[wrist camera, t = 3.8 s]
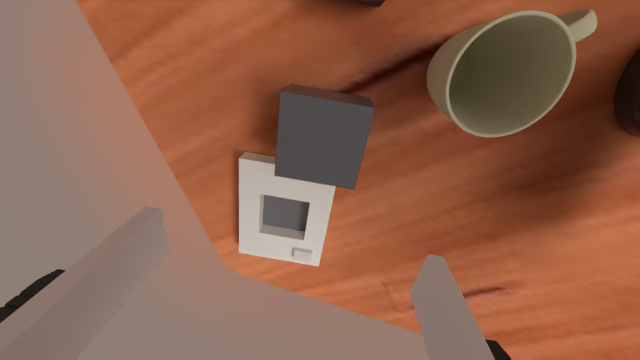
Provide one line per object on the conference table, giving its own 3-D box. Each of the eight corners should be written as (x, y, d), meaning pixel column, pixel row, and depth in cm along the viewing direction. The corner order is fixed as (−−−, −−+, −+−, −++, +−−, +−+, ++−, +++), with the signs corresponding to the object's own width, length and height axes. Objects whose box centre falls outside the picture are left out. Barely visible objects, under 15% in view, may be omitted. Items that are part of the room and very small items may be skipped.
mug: (468, 119, 32) (531, 154, 21) (396, 95, 31) (424, 119, 21) (525, 23, 27) (645, 6, 16) (441, -8, 26) (509, -47, 15)
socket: (245, 151, 36) (236, 160, 33) (338, 167, 36) (338, 178, 34) (244, 242, 45) (237, 256, 42) (319, 255, 45) (318, 270, 42)
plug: (294, 82, 31) (280, 91, 24) (367, 95, 31) (375, 107, 24) (287, 151, 36) (274, 175, 29) (351, 162, 36) (354, 189, 29)
